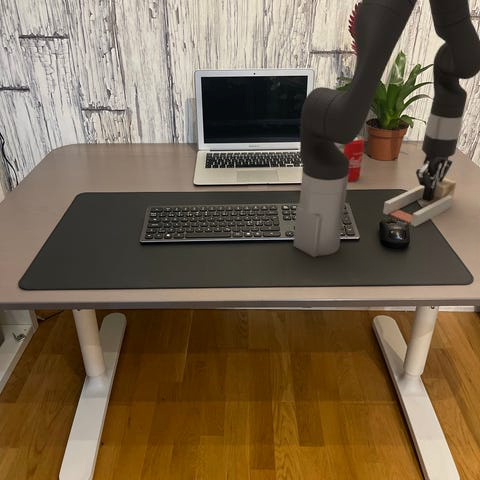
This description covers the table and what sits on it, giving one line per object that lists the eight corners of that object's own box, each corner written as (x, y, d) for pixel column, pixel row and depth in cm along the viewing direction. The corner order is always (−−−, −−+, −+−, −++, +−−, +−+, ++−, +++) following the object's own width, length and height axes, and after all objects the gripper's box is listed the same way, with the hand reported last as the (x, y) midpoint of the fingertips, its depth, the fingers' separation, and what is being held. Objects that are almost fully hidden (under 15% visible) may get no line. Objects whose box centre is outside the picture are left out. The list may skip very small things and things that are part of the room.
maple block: (439, 206, 125) (444, 188, 122) (422, 199, 128) (426, 181, 126) (452, 199, 128) (456, 182, 126) (434, 193, 131) (438, 176, 129)
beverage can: (358, 175, 142) (363, 134, 136) (360, 182, 137) (365, 141, 131) (339, 174, 142) (344, 134, 136) (341, 181, 138) (346, 140, 132)
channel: (415, 226, 115) (417, 215, 114) (382, 213, 121) (384, 202, 120) (450, 207, 124) (453, 196, 123) (418, 195, 130) (421, 185, 129)
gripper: (442, 124, 122) (428, 188, 130) (412, 134, 114) (399, 202, 123) (471, 131, 117) (454, 197, 125) (441, 143, 109) (426, 212, 118)
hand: (427, 199), depth 124 cm, fingers closed
